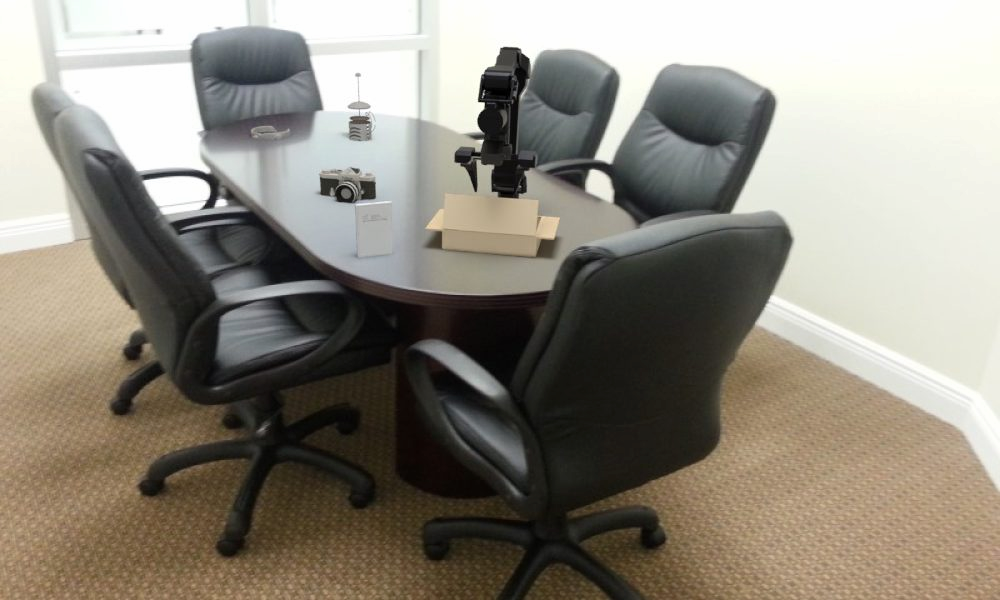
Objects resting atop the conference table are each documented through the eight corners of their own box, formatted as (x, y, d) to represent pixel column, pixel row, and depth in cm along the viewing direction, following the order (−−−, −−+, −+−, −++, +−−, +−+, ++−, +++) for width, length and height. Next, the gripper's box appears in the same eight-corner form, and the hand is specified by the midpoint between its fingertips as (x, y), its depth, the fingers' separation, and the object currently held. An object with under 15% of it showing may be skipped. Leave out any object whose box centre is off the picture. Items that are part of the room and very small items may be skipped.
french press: (360, 141, 294) (357, 70, 284) (384, 145, 287) (382, 73, 278) (340, 145, 286) (337, 72, 276) (364, 150, 280) (361, 76, 270)
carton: (440, 227, 204) (440, 208, 202) (558, 236, 200) (560, 217, 198) (425, 248, 190) (425, 228, 188) (552, 258, 186) (554, 238, 184)
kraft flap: (445, 193, 187) (445, 193, 186) (538, 200, 184) (538, 200, 183) (442, 228, 187) (442, 228, 187) (535, 235, 184) (535, 235, 184)
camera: (312, 204, 220) (310, 168, 216) (324, 195, 228) (322, 160, 224) (368, 208, 218) (367, 172, 214) (378, 200, 226) (377, 164, 222)
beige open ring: (260, 138, 294) (259, 124, 292) (297, 140, 292) (296, 126, 290) (243, 146, 281) (242, 132, 279) (281, 149, 279) (280, 134, 277)
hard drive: (356, 256, 184) (354, 203, 179) (391, 252, 187) (390, 200, 182) (358, 258, 182) (356, 205, 178) (393, 254, 186) (392, 202, 181)
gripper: (449, 130, 178) (449, 199, 184) (533, 135, 176) (530, 205, 182) (459, 121, 188) (458, 187, 194) (539, 126, 186) (536, 192, 192)
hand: (495, 193), depth 190 cm, fingers open, 9 cm apart
